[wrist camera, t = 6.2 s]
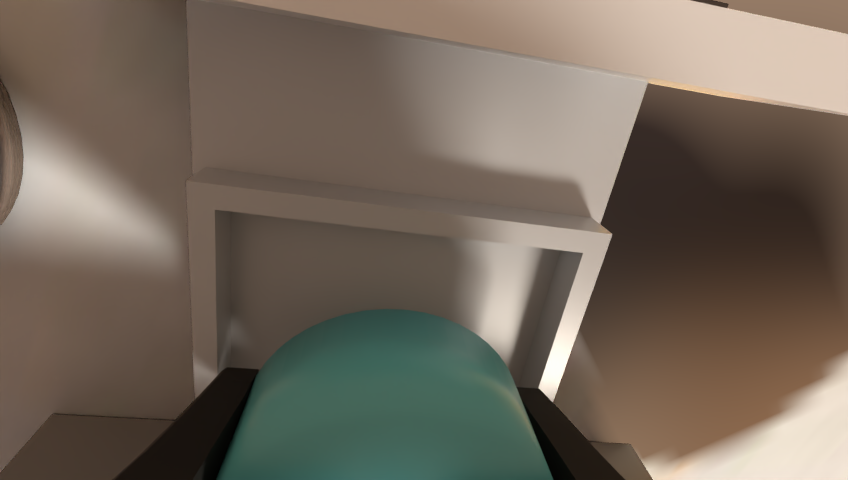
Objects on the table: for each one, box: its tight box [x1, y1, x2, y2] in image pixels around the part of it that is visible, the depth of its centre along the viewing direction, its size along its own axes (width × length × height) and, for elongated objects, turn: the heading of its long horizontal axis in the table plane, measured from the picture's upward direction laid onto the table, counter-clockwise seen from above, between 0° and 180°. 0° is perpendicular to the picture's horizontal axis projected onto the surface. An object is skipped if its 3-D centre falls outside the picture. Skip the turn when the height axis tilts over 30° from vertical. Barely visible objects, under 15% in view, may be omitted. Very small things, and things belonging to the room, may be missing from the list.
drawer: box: [186, 0, 848, 402], centre depth 10 cm, size 14×16×4 cm
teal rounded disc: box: [216, 309, 553, 480], centre depth 8 cm, size 6×6×2 cm
